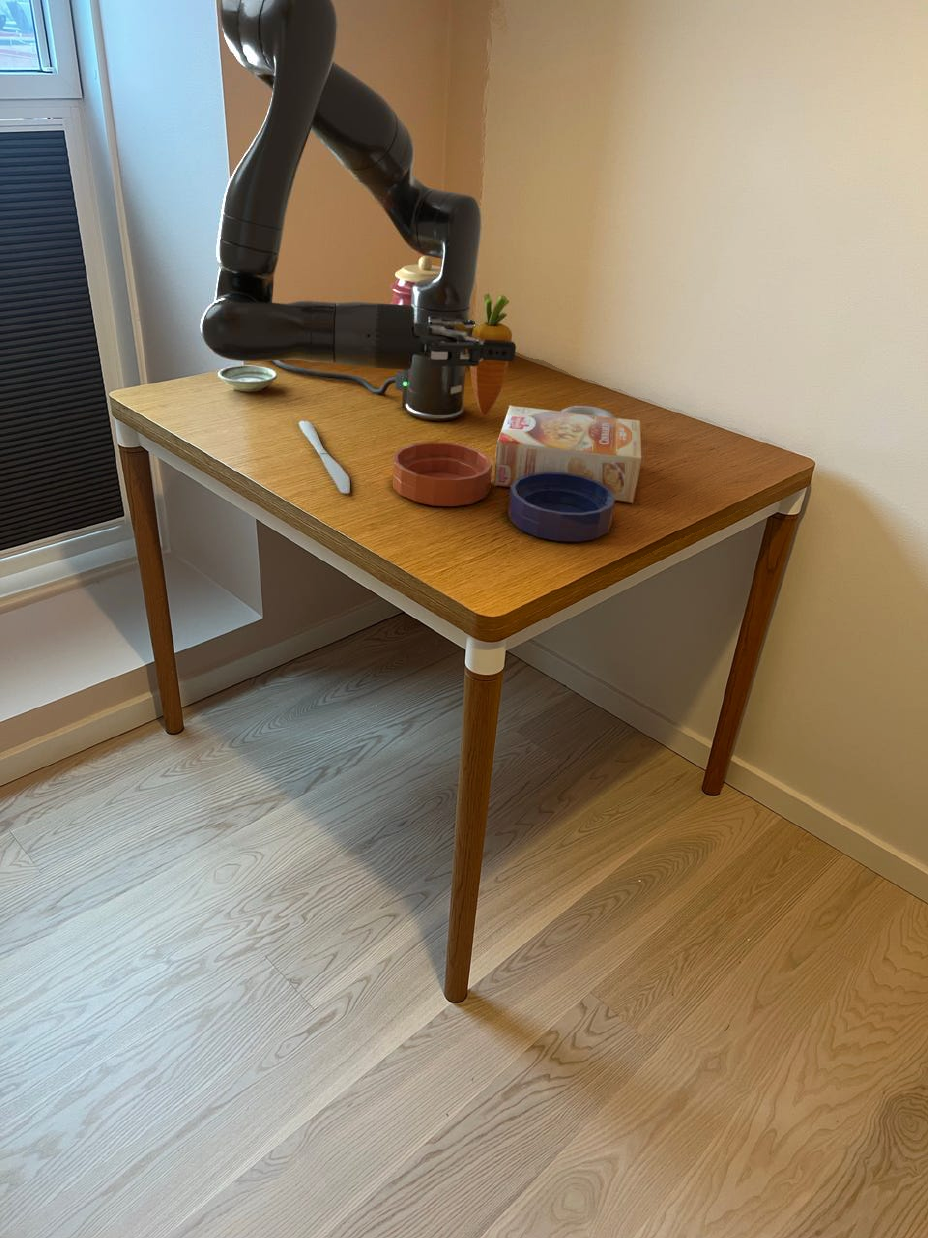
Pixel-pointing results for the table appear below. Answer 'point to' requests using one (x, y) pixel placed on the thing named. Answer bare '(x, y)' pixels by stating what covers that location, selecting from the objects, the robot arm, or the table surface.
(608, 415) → the donut
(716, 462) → the table surface
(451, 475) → the terracotta bowl
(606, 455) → the coffeecake box
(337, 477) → the butter knife
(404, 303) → the kitchen canister
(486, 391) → the carrot
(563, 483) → the indigo bowl
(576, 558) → the table surface
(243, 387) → the saucer
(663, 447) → the table surface
